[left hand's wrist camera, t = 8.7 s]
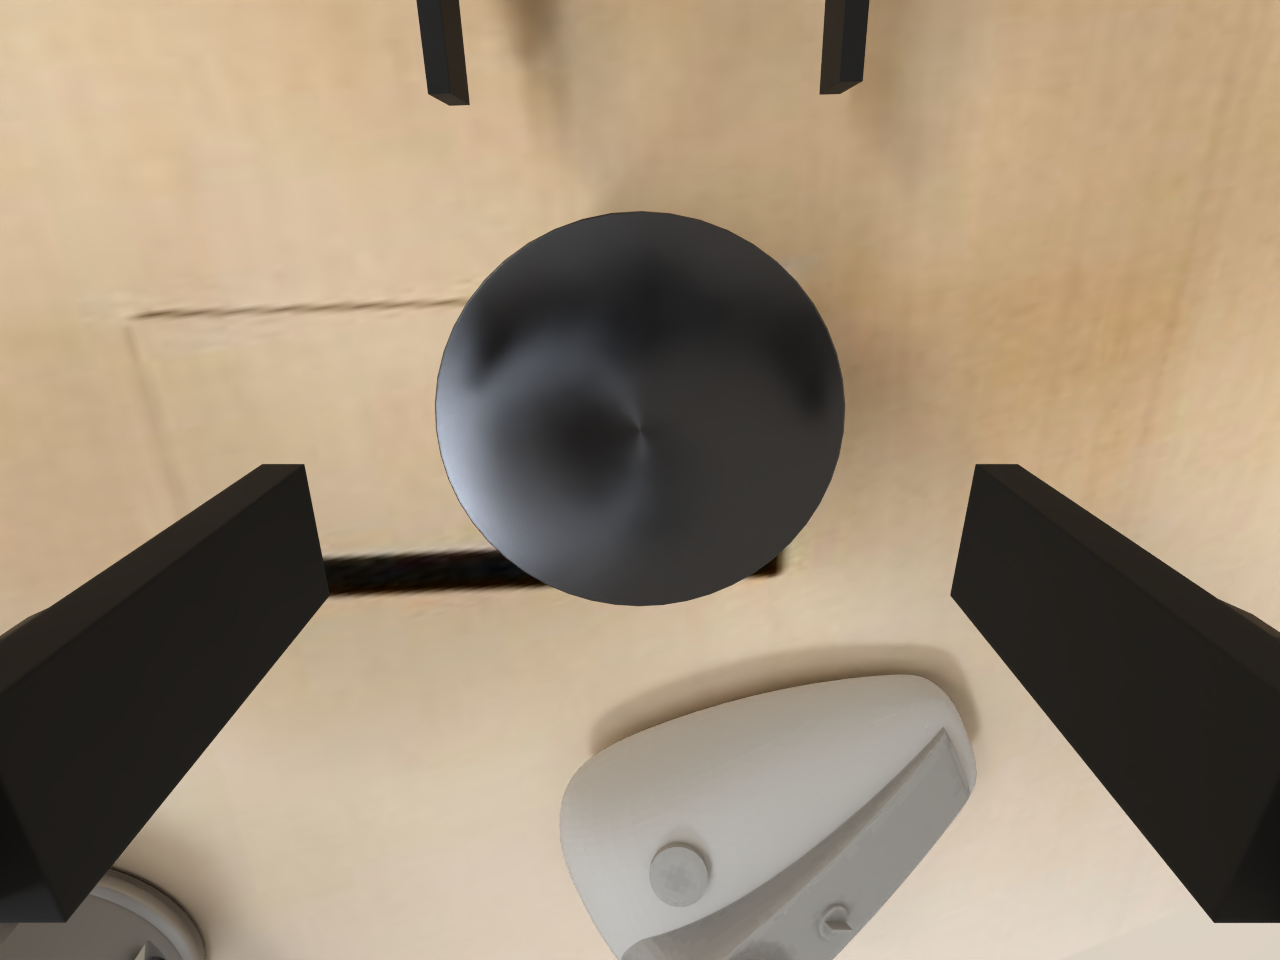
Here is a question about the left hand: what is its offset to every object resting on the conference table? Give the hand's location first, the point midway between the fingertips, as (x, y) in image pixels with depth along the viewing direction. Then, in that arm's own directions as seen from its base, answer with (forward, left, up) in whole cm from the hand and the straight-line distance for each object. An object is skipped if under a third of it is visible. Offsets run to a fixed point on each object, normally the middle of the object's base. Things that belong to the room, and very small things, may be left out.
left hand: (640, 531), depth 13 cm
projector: (-18, -21, -22) cm, 35 cm away
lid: (0, 0, -7) cm, 7 cm away
